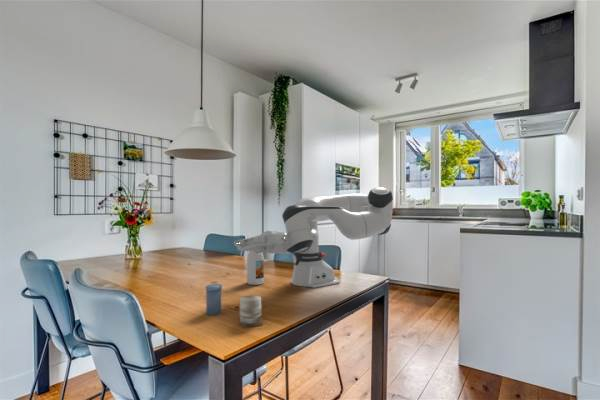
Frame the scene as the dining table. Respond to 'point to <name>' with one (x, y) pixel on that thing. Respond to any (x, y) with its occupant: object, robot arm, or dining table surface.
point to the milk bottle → (255, 268)
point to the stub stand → (250, 311)
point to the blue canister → (213, 299)
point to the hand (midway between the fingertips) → (243, 241)
